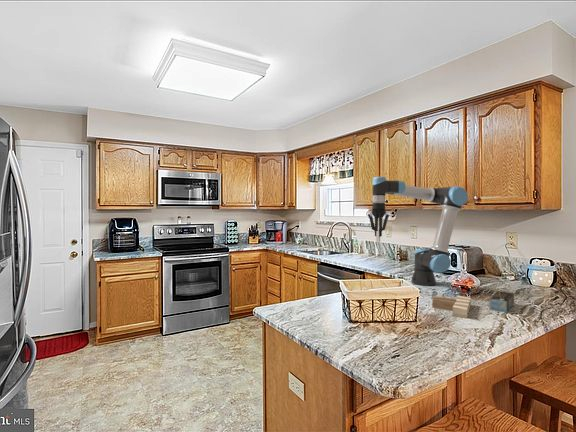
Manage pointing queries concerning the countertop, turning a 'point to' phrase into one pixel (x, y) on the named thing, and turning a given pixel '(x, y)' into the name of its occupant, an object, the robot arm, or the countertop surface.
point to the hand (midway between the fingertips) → (378, 241)
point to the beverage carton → (501, 301)
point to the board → (461, 306)
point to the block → (443, 303)
